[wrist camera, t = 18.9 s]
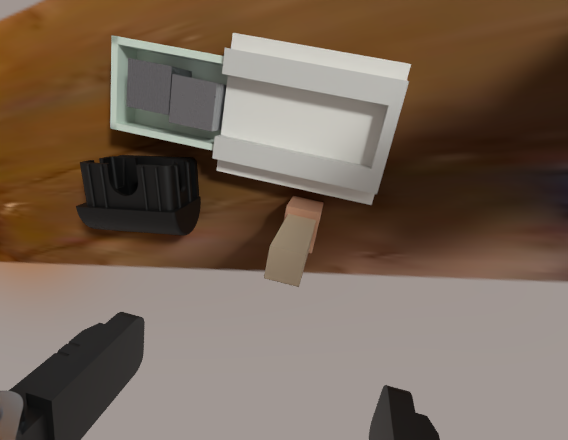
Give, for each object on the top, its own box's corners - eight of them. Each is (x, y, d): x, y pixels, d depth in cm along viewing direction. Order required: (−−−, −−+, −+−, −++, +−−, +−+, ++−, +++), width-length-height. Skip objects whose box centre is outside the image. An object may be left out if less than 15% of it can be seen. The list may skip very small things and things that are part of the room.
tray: (238, 62, 32) (226, 56, 29) (227, 147, 35) (215, 151, 31) (135, 42, 33) (111, 35, 30) (132, 126, 36) (110, 128, 32)
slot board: (406, 67, 30) (414, 61, 26) (369, 198, 34) (372, 209, 30) (241, 38, 31) (227, 28, 28) (225, 166, 35) (210, 173, 32)
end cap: (123, 217, 39) (80, 237, 33) (114, 154, 37) (66, 163, 31) (205, 222, 38) (176, 244, 31) (201, 157, 36) (169, 167, 29)
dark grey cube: (171, 66, 29) (128, 57, 29) (168, 115, 30) (126, 106, 31) (192, 71, 33) (153, 63, 33) (188, 114, 34) (150, 106, 34)
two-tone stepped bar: (323, 202, 35) (312, 246, 23) (315, 238, 36) (300, 296, 25) (293, 195, 35) (267, 235, 24) (285, 231, 36) (258, 285, 25)
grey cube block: (232, 86, 32) (217, 82, 29) (226, 129, 34) (211, 131, 30) (192, 78, 33) (172, 73, 29) (188, 121, 34) (168, 122, 30)
